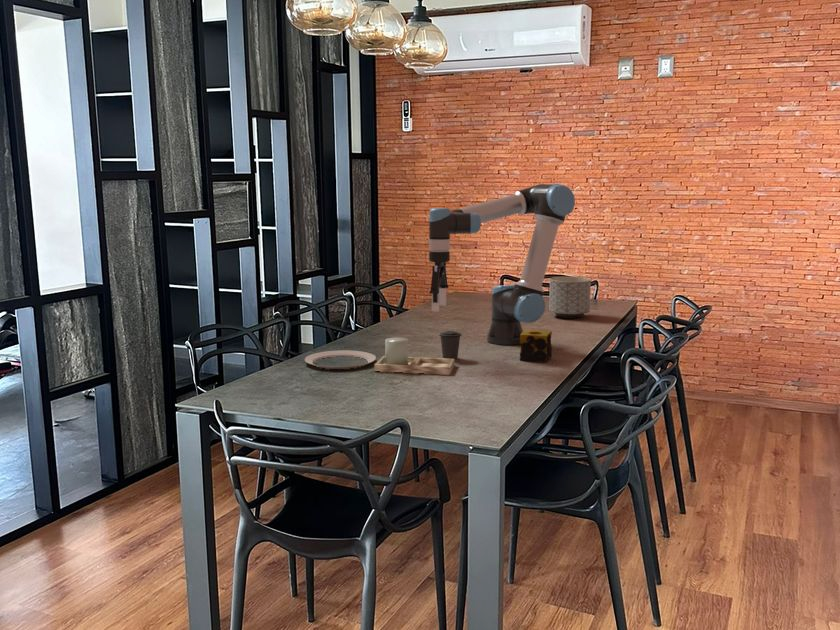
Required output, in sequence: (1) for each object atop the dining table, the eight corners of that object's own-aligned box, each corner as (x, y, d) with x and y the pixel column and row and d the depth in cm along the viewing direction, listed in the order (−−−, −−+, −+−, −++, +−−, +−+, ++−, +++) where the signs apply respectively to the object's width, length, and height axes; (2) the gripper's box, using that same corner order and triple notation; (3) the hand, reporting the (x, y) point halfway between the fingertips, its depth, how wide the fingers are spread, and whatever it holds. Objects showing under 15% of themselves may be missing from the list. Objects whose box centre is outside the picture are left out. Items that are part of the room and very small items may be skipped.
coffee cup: (454, 362, 280) (454, 335, 278) (435, 359, 284) (435, 332, 283) (465, 357, 287) (465, 331, 285) (446, 355, 291) (446, 329, 289)
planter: (595, 315, 373) (596, 278, 370) (580, 321, 357) (582, 282, 354) (558, 312, 383) (559, 275, 380) (542, 318, 367) (543, 279, 364)
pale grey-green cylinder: (410, 362, 275) (410, 338, 274) (405, 368, 267) (405, 342, 266) (388, 362, 276) (387, 337, 275) (383, 367, 269) (382, 341, 267)
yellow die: (552, 357, 288) (552, 330, 287) (547, 363, 279) (548, 336, 277) (524, 355, 292) (525, 329, 290) (519, 361, 282) (519, 334, 280)
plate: (296, 359, 286) (296, 354, 286) (362, 353, 296) (362, 347, 296) (315, 375, 263) (315, 369, 263) (386, 367, 273) (386, 362, 273)
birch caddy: (454, 365, 275) (454, 358, 275) (449, 374, 262) (449, 367, 262) (382, 362, 279) (382, 356, 279) (374, 371, 267) (374, 364, 266)
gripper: (435, 247, 295) (435, 302, 299) (422, 253, 271) (422, 313, 275) (455, 247, 294) (454, 303, 297) (443, 254, 270) (442, 314, 273)
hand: (439, 308), depth 286 cm, fingers open, 13 cm apart
